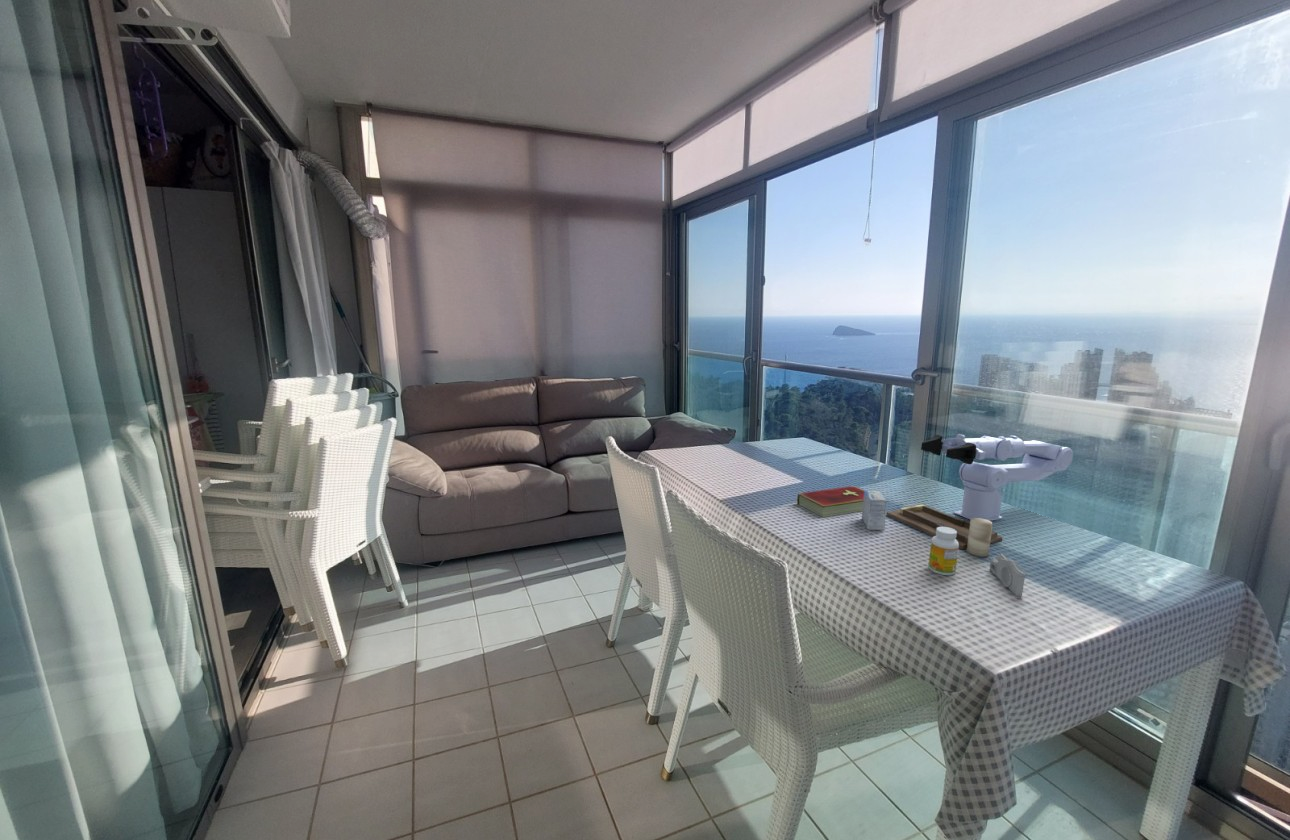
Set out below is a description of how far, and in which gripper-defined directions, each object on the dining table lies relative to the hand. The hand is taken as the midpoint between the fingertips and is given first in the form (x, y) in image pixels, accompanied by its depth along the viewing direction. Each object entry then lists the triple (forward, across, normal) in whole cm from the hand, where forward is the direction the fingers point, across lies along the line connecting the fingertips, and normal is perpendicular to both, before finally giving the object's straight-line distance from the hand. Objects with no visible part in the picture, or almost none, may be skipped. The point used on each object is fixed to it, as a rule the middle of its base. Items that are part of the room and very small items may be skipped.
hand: (934, 449), depth 138 cm
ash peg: (0, +17, +22) cm, 27 cm away
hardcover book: (+10, -21, +23) cm, 33 cm away
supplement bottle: (+16, +20, +23) cm, 35 cm away
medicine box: (+11, -6, +23) cm, 26 cm away
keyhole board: (-5, +2, +21) cm, 22 cm away
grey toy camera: (+8, +29, +22) cm, 38 cm away
